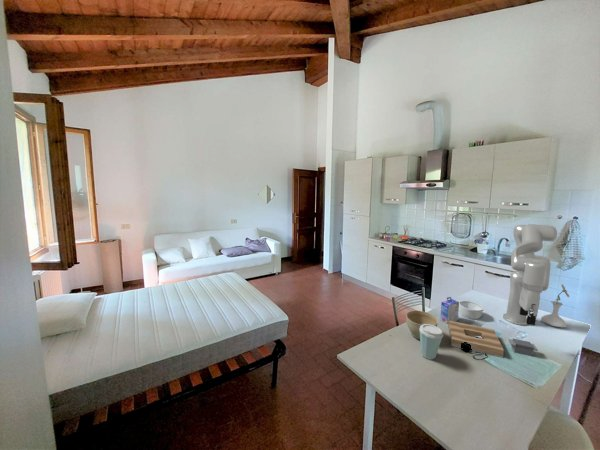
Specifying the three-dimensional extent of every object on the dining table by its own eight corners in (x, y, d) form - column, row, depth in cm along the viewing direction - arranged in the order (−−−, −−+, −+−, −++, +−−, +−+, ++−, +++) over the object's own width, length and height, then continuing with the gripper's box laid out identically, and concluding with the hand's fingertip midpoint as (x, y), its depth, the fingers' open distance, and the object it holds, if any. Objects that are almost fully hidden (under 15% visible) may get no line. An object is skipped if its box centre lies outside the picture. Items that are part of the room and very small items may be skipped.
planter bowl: (398, 330, 151) (400, 312, 149) (421, 325, 156) (422, 308, 154) (419, 346, 136) (420, 327, 134) (443, 341, 141) (445, 322, 139)
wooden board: (448, 326, 155) (448, 320, 154) (492, 336, 146) (493, 329, 145) (451, 345, 137) (452, 338, 136) (502, 357, 128) (503, 350, 127)
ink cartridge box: (449, 316, 167) (452, 295, 165) (458, 320, 162) (460, 298, 160) (439, 319, 163) (441, 297, 161) (447, 324, 158) (449, 301, 156)
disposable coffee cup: (421, 346, 137) (424, 319, 134) (444, 355, 129) (447, 328, 126) (413, 355, 129) (415, 327, 127) (436, 366, 122) (439, 337, 119)
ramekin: (487, 320, 162) (488, 310, 161) (465, 320, 162) (467, 310, 161) (473, 310, 175) (474, 300, 174) (453, 310, 175) (454, 300, 174)
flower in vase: (561, 331, 151) (569, 290, 147) (537, 321, 161) (543, 283, 157) (570, 325, 157) (578, 286, 153) (546, 317, 167) (553, 280, 163)
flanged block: (507, 346, 137) (508, 337, 136) (532, 351, 133) (534, 342, 132) (510, 351, 133) (511, 342, 132) (536, 357, 128) (538, 348, 127)
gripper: (516, 279, 136) (512, 310, 139) (528, 292, 121) (523, 326, 123) (535, 282, 133) (530, 313, 136) (550, 295, 117) (543, 330, 120)
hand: (526, 319), depth 130 cm, fingers open, 9 cm apart
